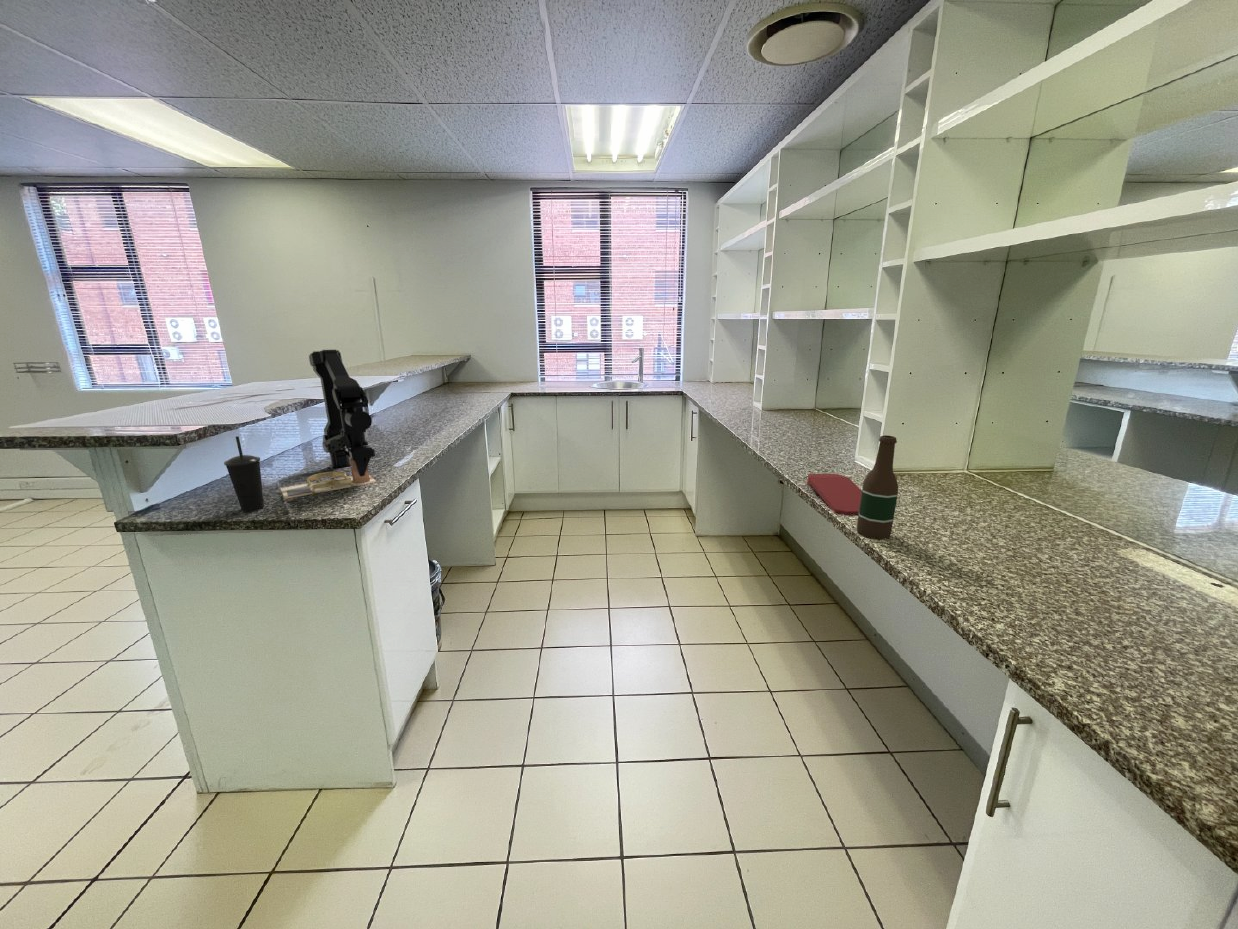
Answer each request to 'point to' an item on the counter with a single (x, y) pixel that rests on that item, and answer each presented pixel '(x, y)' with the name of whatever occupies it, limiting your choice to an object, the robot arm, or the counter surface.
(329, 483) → the bent wooden frame
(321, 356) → the robot arm
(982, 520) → the counter surface
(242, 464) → the drinking cup
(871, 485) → the beer bottle
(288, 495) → the beige board
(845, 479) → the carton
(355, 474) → the block
